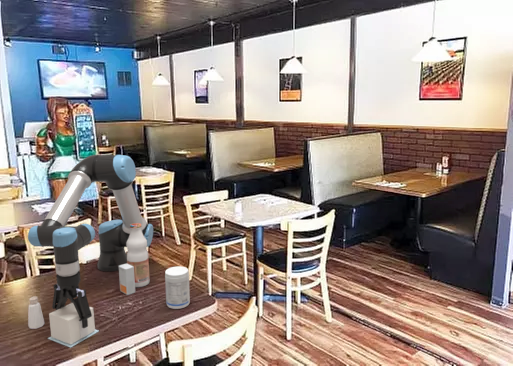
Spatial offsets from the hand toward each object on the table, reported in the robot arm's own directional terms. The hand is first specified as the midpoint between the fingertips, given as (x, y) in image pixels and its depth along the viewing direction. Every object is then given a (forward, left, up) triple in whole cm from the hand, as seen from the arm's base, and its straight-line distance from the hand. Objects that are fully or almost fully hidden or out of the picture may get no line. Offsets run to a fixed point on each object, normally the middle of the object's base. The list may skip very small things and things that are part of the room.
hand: (73, 331), depth 150 cm
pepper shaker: (+2, -18, -1) cm, 18 cm away
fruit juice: (-44, -11, -1) cm, 45 cm away
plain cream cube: (0, 0, -1) cm, 1 cm away
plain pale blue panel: (0, 0, -1) cm, 1 cm away
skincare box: (-35, -9, -1) cm, 36 cm away
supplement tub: (-36, +18, -1) cm, 40 cm away
